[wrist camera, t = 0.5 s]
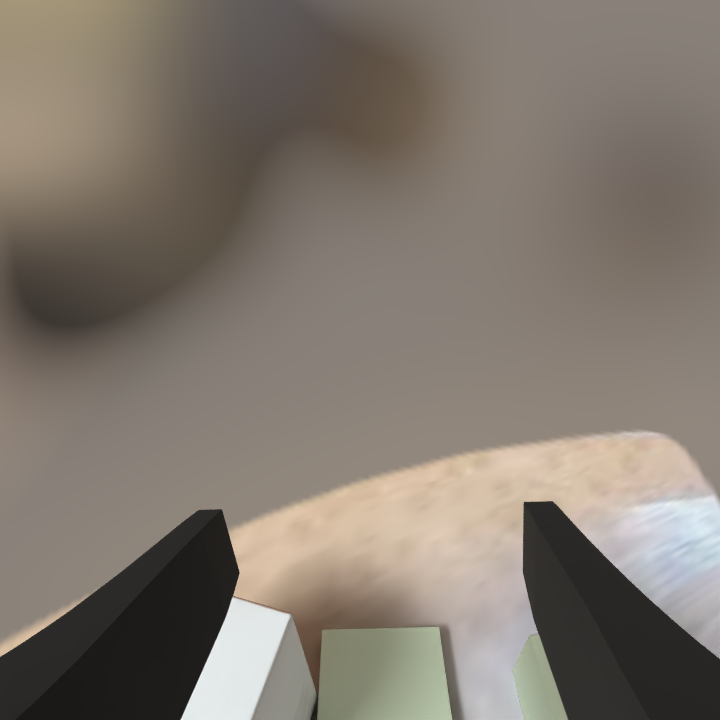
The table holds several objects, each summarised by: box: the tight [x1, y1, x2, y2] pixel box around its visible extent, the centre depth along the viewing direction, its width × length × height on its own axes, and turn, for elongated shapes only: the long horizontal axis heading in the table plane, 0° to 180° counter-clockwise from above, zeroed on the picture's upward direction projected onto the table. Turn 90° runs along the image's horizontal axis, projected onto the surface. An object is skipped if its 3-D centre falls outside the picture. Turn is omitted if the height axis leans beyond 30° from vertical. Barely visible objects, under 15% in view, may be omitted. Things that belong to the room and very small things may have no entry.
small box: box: [181, 596, 317, 720], centre depth 20 cm, size 8×6×10 cm
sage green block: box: [512, 635, 568, 720], centre depth 22 cm, size 5×5×5 cm
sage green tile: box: [317, 627, 452, 720], centre depth 24 cm, size 7×7×1 cm
